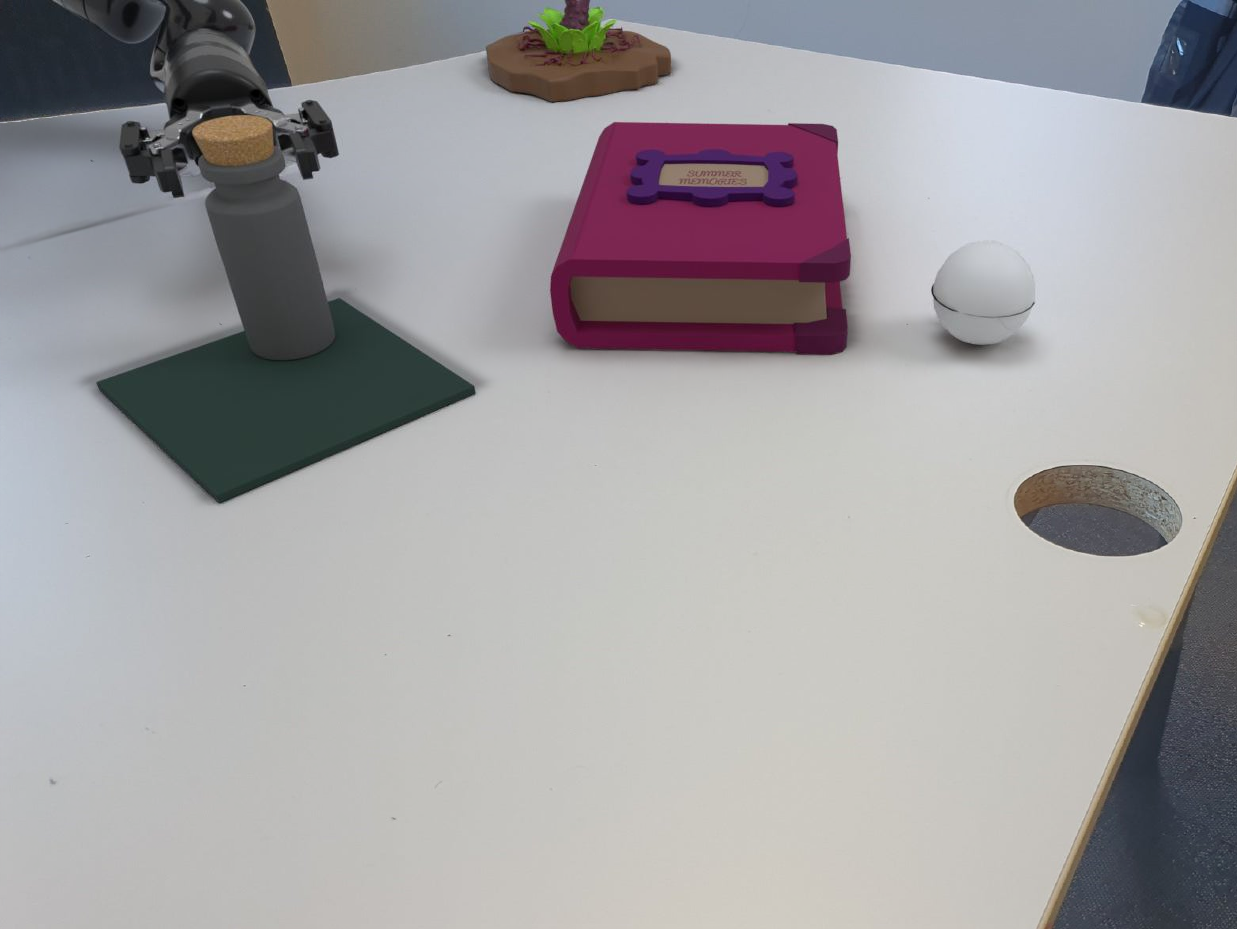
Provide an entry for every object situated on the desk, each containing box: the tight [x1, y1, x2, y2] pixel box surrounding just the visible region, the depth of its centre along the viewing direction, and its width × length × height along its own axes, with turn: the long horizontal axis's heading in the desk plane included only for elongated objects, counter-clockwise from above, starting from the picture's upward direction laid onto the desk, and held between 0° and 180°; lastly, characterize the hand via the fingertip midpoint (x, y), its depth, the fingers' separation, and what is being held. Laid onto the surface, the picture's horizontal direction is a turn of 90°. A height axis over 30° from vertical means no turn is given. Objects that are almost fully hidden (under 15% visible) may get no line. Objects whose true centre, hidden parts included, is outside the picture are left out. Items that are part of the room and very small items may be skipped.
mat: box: [95, 297, 477, 504], centre depth 76 cm, size 18×18×1 cm
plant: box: [485, 0, 672, 103], centre depth 127 cm, size 20×20×11 cm
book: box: [549, 121, 852, 356], centre depth 89 cm, size 21×28×8 cm
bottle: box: [192, 115, 335, 360], centre depth 75 cm, size 6×6×15 cm
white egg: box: [930, 240, 1036, 346], centre depth 80 cm, size 10×7×7 cm
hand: (240, 174), depth 77 cm, fingers open, 8 cm apart
